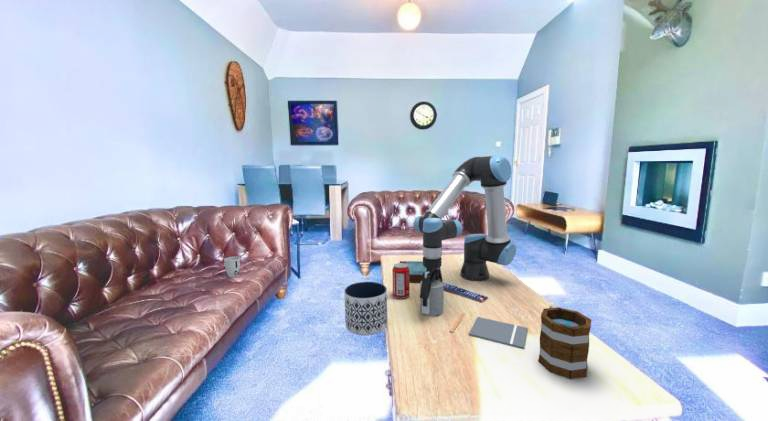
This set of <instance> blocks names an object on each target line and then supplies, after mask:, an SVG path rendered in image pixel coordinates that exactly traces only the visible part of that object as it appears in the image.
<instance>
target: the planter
mask: <svg viewBox="0 0 768 421" xmlns="http://www.w3.org/2000/svg"><path fill="white" fill-rule="evenodd" d="M344 318H345V319H344V320H345V322H344V323H345V328H346V330H347V331H349V333H352V334H354V335H357V336H372V335H373V336H374V335H377V334H379V333H382V332H383V331H385V329H386V328H387V326H388V289H387V286H385V285H384V284H382V283H380V282H375V281H358V282H355V283H352V284H349V285H347V286H346V287H345V289H344Z"/></svg>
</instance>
